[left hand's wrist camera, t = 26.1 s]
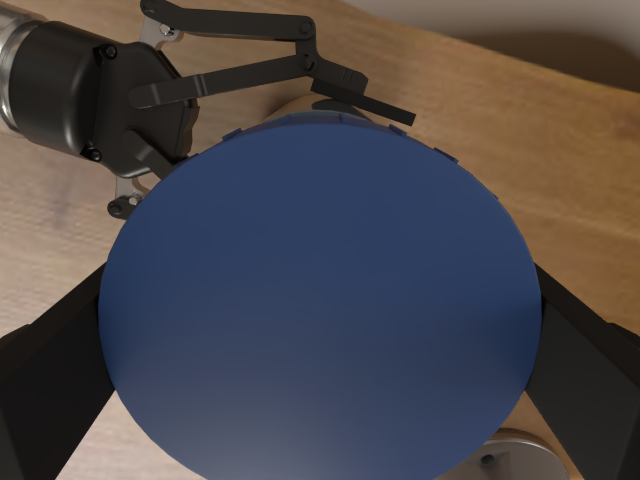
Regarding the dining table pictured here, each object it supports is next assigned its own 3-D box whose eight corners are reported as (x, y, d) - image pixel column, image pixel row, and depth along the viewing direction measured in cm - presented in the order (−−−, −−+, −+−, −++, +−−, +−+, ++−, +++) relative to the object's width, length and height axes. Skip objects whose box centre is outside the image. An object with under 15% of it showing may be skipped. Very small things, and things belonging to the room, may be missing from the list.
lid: (550, 134, 11) (610, 146, 8) (459, 454, 14) (485, 521, 12) (124, 90, 10) (70, 92, 8) (145, 430, 14) (112, 495, 12)
